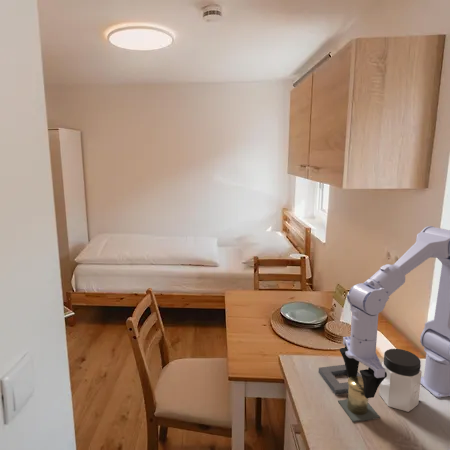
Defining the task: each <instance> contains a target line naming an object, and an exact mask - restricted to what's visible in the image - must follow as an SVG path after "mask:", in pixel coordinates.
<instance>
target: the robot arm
mask: <svg viewBox="0 0 450 450" xmlns="http://www.w3.org/2000/svg"><path fill="white" fill-rule="evenodd" d="M430 258H431V259H432V258H434V259H435V258H437V260H439V261H440V262H441V270H440V276H439V281H438V282H439V284H438V291H437V297H436V304H435V309H434V310H435V311H434V317H433V319H431V320H428V321H426V322H425V323H424V328H423V330H422V332H421V333H420V336H419V337H420V338H419V339H420V345H421V346H422V347H423V352H425V361H424V362H425V363H424V370H423V372H424V374H423V376H421V383H420V385H422V386H423V387H424V388H425V389H426V390H427V391H429V392H430V393H431V394H432V395H433V396H434V397H435V398H438V399H441V398H444V397H446V398H447V397H450V229H445V228H441V227H436V226H433V225H428V226H425V227H424V228H423V229H422V230H421V231H420V232H418V233H417V234H416V239H415V243H414V244H412V245H411V246H410V247H409V248H408V250H406V252H404V254H402V255H401V256H400V257H399V258H398V260H396V262H394V263H393V264H389V263H386V264H384V265H382V266H380V267H379V270H377V271H376V272H375V273H374V274H373V275H372V276H370V277H368V279H366V281H364V282H363V283H362V282H360V283H357V284H354V285H352V286H351V287H350V289H349V291H348V294H346V299H347V302H348V303H349V306H350V308H349V309H350V311H351V321H350V336H343V337H342V344H343V346H344V347H340V348H339V352H340V354H341V356H342V359H343V362H344V365H345V367H346V372H347V374H346V375H347V378H348V379H349V378H350V377H352V376H357V373H359V374H360V375H361V376H362V379H363V384H364V396H365V397H366V398H368V399H371V398H374V397H375V396H376V393H377V391H378V389H379V388H380V383H381V382H382V381H383V380H384V379H385V378H386V377H387V373H386V372H385V369H384V368H383V366H382V365H381V364H382V362H381V361H380V358H379V356H378V354H377V351H376V350H377V342H378V341H377V339H378V323H379V314H380V313H382V312H383V310H384V309H385V307H386V304H387V302H388V301H389V299H390V296H392V294H393V293H395V292H396V291H397V290H398V289H400V287H402V286H403V285H404V284H405V283H406V275H407V274H409V273H411V272H412V271H413V270H414V269H416V268H417V267H418V266H420V265H421V264H423V263H424V262H425V261H427V260H428V259H430ZM360 363H361V364H363V365H364V366H366V367H367V368H365V369H359V366H360V365H359V364H360ZM358 371H359V372H358Z"/></svg>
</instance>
